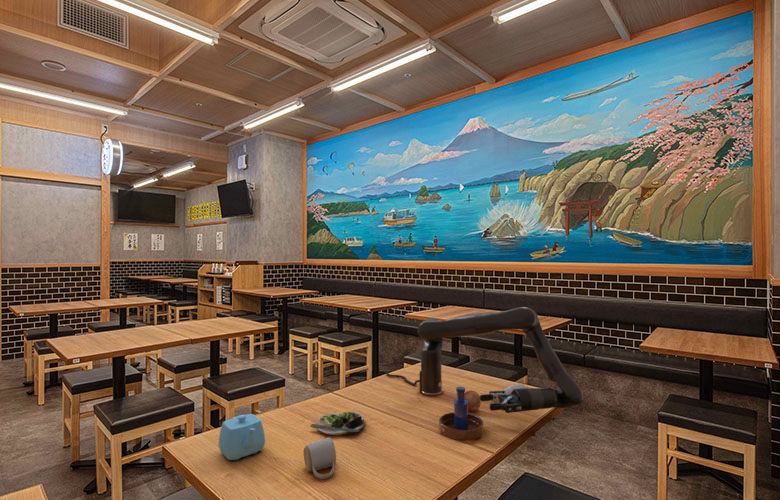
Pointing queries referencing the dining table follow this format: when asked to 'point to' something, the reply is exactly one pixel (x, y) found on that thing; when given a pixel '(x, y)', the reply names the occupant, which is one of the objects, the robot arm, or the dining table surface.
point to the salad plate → (340, 423)
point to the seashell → (511, 388)
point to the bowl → (472, 433)
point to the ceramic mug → (320, 457)
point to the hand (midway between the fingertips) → (485, 402)
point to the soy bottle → (460, 410)
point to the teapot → (241, 436)
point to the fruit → (472, 400)
